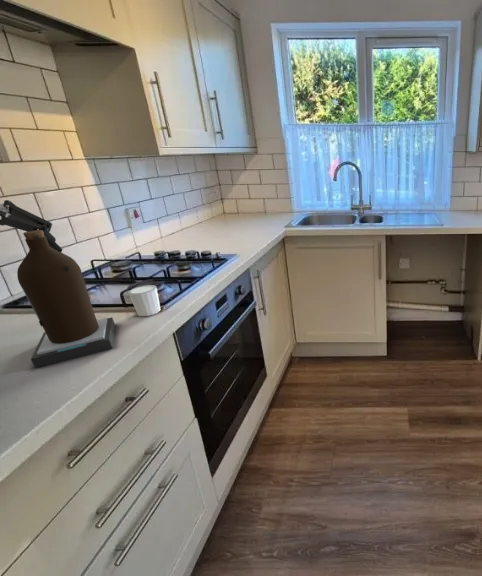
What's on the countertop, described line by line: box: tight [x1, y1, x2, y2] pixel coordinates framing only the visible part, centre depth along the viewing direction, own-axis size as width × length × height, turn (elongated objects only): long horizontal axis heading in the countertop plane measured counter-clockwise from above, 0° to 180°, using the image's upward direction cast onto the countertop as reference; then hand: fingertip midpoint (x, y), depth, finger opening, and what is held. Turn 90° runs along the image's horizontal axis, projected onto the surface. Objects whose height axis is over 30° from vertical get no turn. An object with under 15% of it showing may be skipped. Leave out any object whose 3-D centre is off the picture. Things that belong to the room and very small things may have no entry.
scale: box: [30, 316, 116, 369], centre depth 87 cm, size 14×14×3 cm
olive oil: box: [16, 230, 99, 343], centre depth 82 cm, size 11×11×25 cm
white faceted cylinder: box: [127, 284, 161, 317], centre depth 102 cm, size 7×7×7 cm
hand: (26, 262), depth 81 cm, fingers open, 13 cm apart
